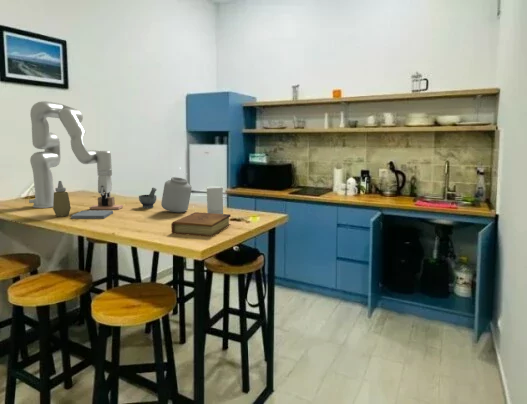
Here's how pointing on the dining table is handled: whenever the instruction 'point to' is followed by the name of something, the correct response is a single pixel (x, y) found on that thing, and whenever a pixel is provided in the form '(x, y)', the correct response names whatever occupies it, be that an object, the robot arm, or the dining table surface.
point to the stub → (110, 204)
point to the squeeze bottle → (61, 201)
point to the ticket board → (92, 214)
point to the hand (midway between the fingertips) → (106, 204)
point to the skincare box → (215, 200)
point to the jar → (176, 195)
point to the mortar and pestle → (148, 199)
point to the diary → (201, 224)
